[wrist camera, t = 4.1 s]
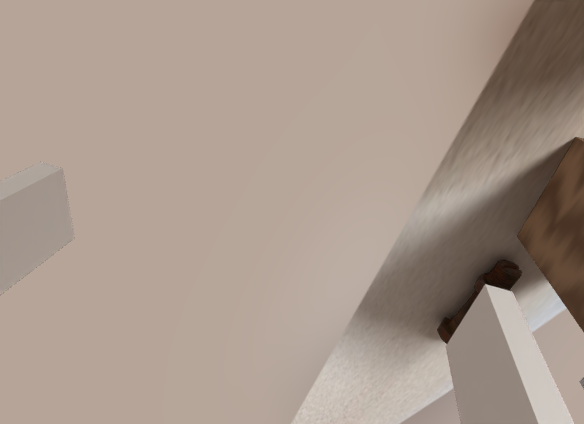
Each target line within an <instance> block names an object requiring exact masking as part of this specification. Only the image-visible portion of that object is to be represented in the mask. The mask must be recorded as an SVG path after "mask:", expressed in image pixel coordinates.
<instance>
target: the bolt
mask: <svg viewBox="0 0 584 424" xmlns="http://www.w3.org/2000/svg"><path fill="white" fill-rule="evenodd" d="M521 273H522V271H520V270H519V267H518V266H517V265H516V264H514V263H512V262H509V261H506V260H503V261H502V260H500V261H499V262H497V264H496V265H495V267H494V268H493V269H492V271H491V272H490V273H489V274H488V275H487V274H482V275H481V276H480V278H479V279H478V280H477V282H476V283H475V285H474V287H475V290H476V291H475V292H474V293H473V295H472V296H471V297H470V298H469V300H468V301H467V302H466V304H465V305H464V306H463V307H462V309H461V310H460V311H459V312H458V314H457V315H456V316H455V317H454V318H453V319H449V318H445V319H444V320H443V321H442V323H441V324H440V326H439V327H438V329H437V330H438V333H439V335H440V337H441V339H442V340H443V341H444V342H445V343H446V344H448V342H449V340H450V339H451V337H452V336H453V334H454V333H455V331H456V329H457V328H458V326H459V325H460V323H461V321H462V320H463V318H464V317H465V315H466V314H467V312H468V310H469V309H470V307H471V306H472V304H473V303H474V301H475V299H476V298H477V296H478V295H479V293H480V291H481V290H482V288H483V287H484V285H485V284H486V285H490V286H494V287H497V288H501V289H505V290H508V291H511V290H510V289H511V287H512V286H513V285H514V284H515V282H516V281H517V280H518V278H520V276H521Z"/></svg>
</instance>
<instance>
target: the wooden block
mask: <svg viewBox="0 0 584 424" xmlns="http://www.w3.org/2000/svg"><path fill="white" fill-rule="evenodd" d="M517 237H518V238H519V240H520V241H521V243H522V244H523V245H524V247H525V248H526V250H527V251H528V253H529V254H530V255H531V257H532V258H533V260H534V261H535V263H536V264H537V266H538V267H539V268H540V270H541V271H542V273H543V274H544V276H545V277H546V279H547V280H548V281H549V283H550V284H551V286H552V287H553V289H554V290H555V291H556V293H557V294H558V296H559V297H560V299H561V300H562V302H563V303H564V304H565V306H566V307H567V309H568V310H569V311H570V313H571V315H572V316H573V317H574V319H575V320H576V322H577V323H578V324H579V326H580V327H581V329H582V330H583V332H584V139H583V138H578V137H576V138H575V140H574V141H573V143H572V145H571V146H570V148H569V150H568V151H567V153H566V155H565V156H564V158H563V160H562V161H561V163H560V165H559V167H558V168H557V170H556V172H555V173H554V175H553V177H552V178H551V180H550V182H549V183H548V185H547V187H546V188H545V190H544V192H543V193H542V195H541V197H540V198H539V200H538V202H537V203H536V205H535V207H534V208H533V210H532V212H531V214H530V215H529V217H528V219H527V220H526V222H525V224H524V225H523V227H522V229H521V230H520V232H519V234H518V235H517Z"/></svg>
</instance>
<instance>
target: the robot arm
mask: <svg viewBox="0 0 584 424" xmlns="http://www.w3.org/2000/svg"><path fill="white" fill-rule="evenodd" d="M73 239H74V232H73V226H72V220H71V215H70V208H69V202H68V196H67V190H66V184H65V178H64V173H63V168H60V167H57V166H53V165H50V164H46V163H42V162H40V163H38V164H35V165H33V166H31V167H29V168H27V169H25V170H23V171H20V172H18V173H16V174H14V175H12V176H10V177H7V178H5V179H3V180H1V181H0V295H1V294H3V293H4V292H5V291H7V290H8V289H9V288H10V287H12V286H13V285H14V284H16V283H17V282H18V281H20V280H21V279H22V278H24V277H25V276H26V275H27V274H29V273H30V272H31V271H33V270H34V269H35V268H37V267H38V266H39V265H40V264H42V263H43V262H44V261H46V260H47V259H48V258H49V257H51V256H52V255H53V254H55V253H56V252H57V251H59V250H60V249H61V248H63V247H64V246H65V245H66V244H68V243H69V242H70V241H72V240H73ZM446 350H447V355H448V360H449V365H450V370H451V376H452V381H453V386H454V390H455V396H456V401H457V405H458V411H459V416H460V421H461V424H574V422H573V420H572V418H571V416H570V414H569V411H568V409H567V407H566V405H565V403H564V401H563V399H562V396H561V394H560V392H559V390H558V388H557V386H556V384H555V382H554V379H553V377H552V375H551V373H550V371H549V369H548V366H547V364H546V362H545V360H544V358H543V356H542V354H541V352H540V350H539V347H538V346H537V343H536V341H535V339H534V337H533V335H532V332H531V330H530V328H529V326H528V324H527V322H526V319H525V317H524V315H523V313H522V311H521V309H520V307H519V305H518V302H517V300H516V298H515V296H514V294H513V292H512V291H508V290H505V289H501V288H497V287H494V286H490V285H486V284H485V285H484V287H483V288H482V290H481V291H480V293H479V295H478V296H477V298H476V299H475V301H474V303H473V304H472V306H471V307H470V309H469V310H468V312H467V314H466V315H465V317H464V318H463V320H462V321H461V323H460V325H459V326H458V328H457V329H456V331H455V333H454V334H453V336H452V337H451V339H450V340H449V342H448V344H447V345H446Z"/></svg>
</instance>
